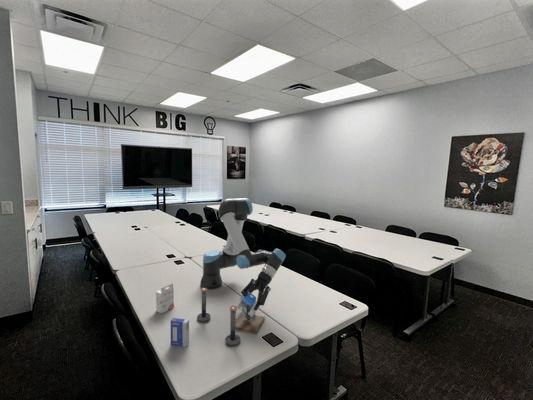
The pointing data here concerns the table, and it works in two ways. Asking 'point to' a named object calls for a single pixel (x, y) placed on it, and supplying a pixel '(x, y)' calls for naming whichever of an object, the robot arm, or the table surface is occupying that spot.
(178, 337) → the walkman
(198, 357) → the table surface
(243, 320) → the walnut board
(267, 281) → the robot arm
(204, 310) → the cord stand far
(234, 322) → the cord stand near
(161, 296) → the ink cartridge box
